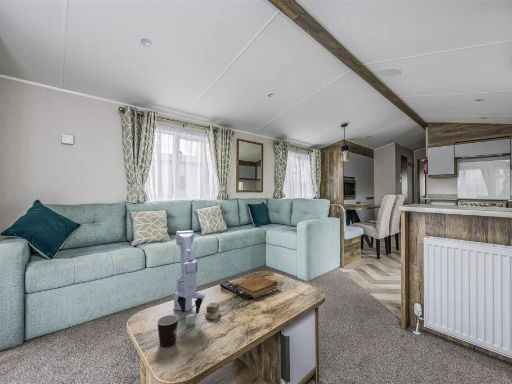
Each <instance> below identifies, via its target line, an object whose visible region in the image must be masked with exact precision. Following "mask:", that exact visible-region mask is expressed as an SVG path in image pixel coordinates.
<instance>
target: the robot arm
mask: <svg viewBox="0 0 512 384" xmlns="http://www.w3.org/2000/svg"><path fill="white" fill-rule="evenodd" d="M194 240H195V232H194V230H193V229H191V230H180V231H179V230H176V233H175V243H176V244H175V245H176V246H178V247H179V250H180V269H181V271H180V272H181V273H180V275H179V276H178V277H177V278H176V282H175V283H176V284H175V285H176V286H175V288H176V289H175V290H176V292H175V294H174V297H173V299H174V300H173V310H174V311H181V313H182V314H184V313H185V312H189V311H190V310H191V309H193V307H194V306H195V315H198V314H199V313H200V309H201V306H202V303H203V301H204V300H205V298H206V297H205V296H206V295H205V294H203V293H199V292H197V273H198V269H199V268H198V267H199V266H198V261H197V259H196V258H195V257H196V256H195V252H194V250H192V244H193V243H194ZM193 299H195V300H194V303H193Z"/></svg>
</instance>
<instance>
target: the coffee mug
mask: <svg viewBox="0 0 512 384" xmlns="http://www.w3.org/2000/svg"><path fill="white" fill-rule="evenodd" d="M156 323H157V325H156V326H157V333H158V339H159V346H160V347H161V348H171V347H172V346H175V344H176V340H177V331H178V323H179V317H178V316H177V314H167V315H164V316H163V315H162V317H161V316H160V317H159V318H158V320H157V321H156Z"/></svg>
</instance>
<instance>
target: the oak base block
mask: <svg viewBox="0 0 512 384" xmlns="http://www.w3.org/2000/svg"><path fill="white" fill-rule="evenodd" d="M220 314H221V309H220V307H219V309H218V311H217V312H216V313H209V312H207V310H206V311H205V312H204V318H205V319H211V320H212V319H213V320H216V319H217V318H218V317H219V315H220Z"/></svg>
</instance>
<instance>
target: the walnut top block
mask: <svg viewBox="0 0 512 384" xmlns="http://www.w3.org/2000/svg"><path fill="white" fill-rule="evenodd" d="M219 308H220V303H219V302H212V301H211V302H209V303H208V304H207V305H206V311H207V312H209V313H216V312H217V311H218V309H219Z"/></svg>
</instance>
